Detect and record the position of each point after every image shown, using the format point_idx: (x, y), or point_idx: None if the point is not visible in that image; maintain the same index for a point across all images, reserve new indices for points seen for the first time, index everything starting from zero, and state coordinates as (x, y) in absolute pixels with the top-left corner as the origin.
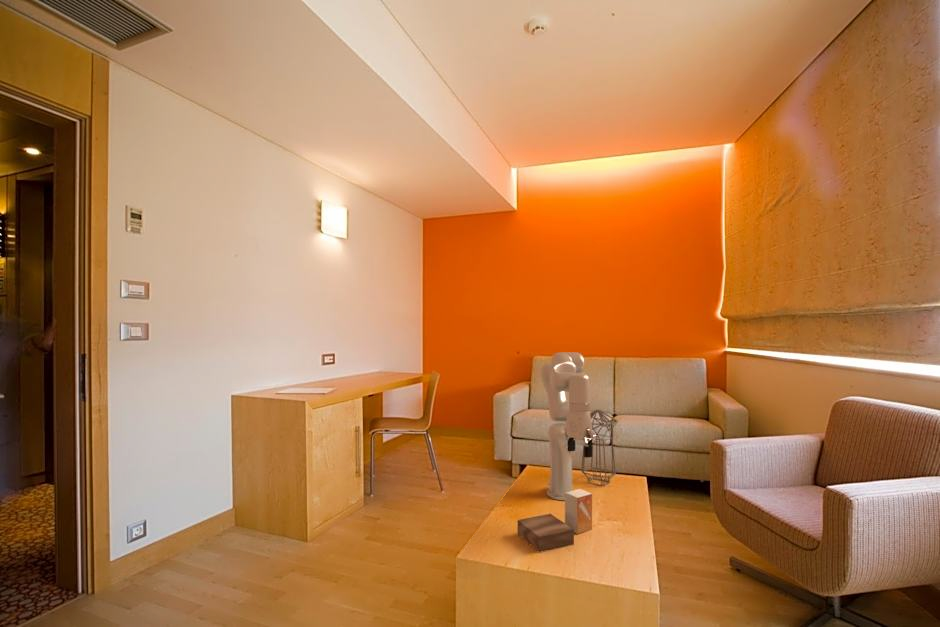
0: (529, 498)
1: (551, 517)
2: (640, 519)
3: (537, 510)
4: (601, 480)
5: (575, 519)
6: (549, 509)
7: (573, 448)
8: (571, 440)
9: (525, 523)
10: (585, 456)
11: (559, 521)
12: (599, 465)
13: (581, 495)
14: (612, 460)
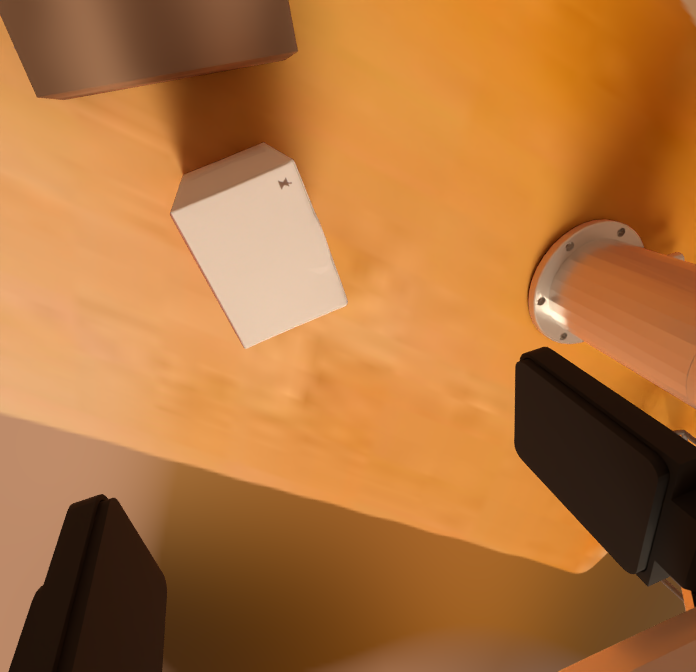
0: (623, 112)
1: (237, 27)
2: (293, 483)
3: (491, 88)
4: None
5: (191, 179)
6: (480, 161)
7: (537, 449)
8: (665, 528)
9: None
10: (71, 517)
11: (169, 54)
12: None
13: (215, 263)
14: None
